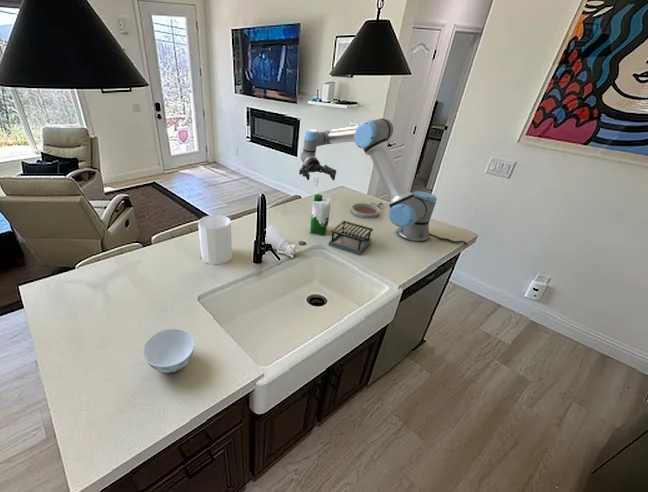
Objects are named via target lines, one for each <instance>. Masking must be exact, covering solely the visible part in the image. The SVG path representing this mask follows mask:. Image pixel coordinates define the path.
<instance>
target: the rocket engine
mask: <svg viewBox="0 0 648 492" xmlns="http://www.w3.org/2000/svg"><path fill="white" fill-rule="evenodd" d="M265 230H266V237H265V242H266V243H268V244H271V245H272V248H273V249H272V250H276V252H277V253H278V254H283V255H286V256H288V257H289V258H291V259H294V258H295V255H296V253H299V252H300V251H301V250H300V249H299V248H297V245H296V244H295V243H293V244H290V243H288V240H287V239H286V238H285V236H284V234H282V233H281V231H280V229H278V228H277V227H276V226H275V224H272V225H271V224H270V225H269V226H267V227H266V228H265ZM295 251H296V252H295Z"/></svg>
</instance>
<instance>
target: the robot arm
mask: <svg viewBox="0 0 648 492" xmlns="http://www.w3.org/2000/svg"><path fill="white" fill-rule="evenodd" d="M393 134H394V125H393V123H392V122H391V121H390V120H389V119H387V118H377V119H372V120H371V119H370V120H366V121H363V122H361V123H360V124H358V125H357V126H350V127H343V128H337V129H328V130H323V131H318V130H317V129H312V128H311V129H307V130H305V133H304V139H303V148H302V151H301V153H300V159H301V162H302V163H303V164H302V166H301V167H300V168H299V170H298V171H299V172H298V175H299V176H301V175H302V176H301V177H305V179H306V180H307V181H310V176H311V175H310V173H320V174H321V173H323V174H326V175H328V176H329V178H330V179H331V180H332V181H335V180H336V175H337V170H336V169H334V168H332V167H330V166H328V165H327V164H324V165H321V162H320V160H319V159H318V158H317V157H316V154H317V147H322V146H326V145H333V144H342V143H352V142H354V143H355V146H357V148H360V149H362V150H363V152H364V154H365V155H366V156H369V157H370V159H371V161H372V163H373V166H374V167H375V170H376V172H377V174H378V177H379V178H380V181H381V183H382V185H383V188H384V189H385V192H386V194H387V196H388V198H389V202H388V207H389V209H390V210H389V212H388V217H389V220H390V222H391V223H392V224H393V225H394V226H397V227H398V229H397V235H398V236H399V237H401V238H402V239H404V240H406V241H411V242H418V243H419V242H424V241H427V240H428V239H429V236H430V237H432V238H436V239H438V240H441V241H448V242H449V243H453V244H459V243H463V244H465V245H466V246H467V245H468V242H467V241H465V240H452V239H450V238H445V237H440V236H437V235H435V234H432V233H430V230H429V229H430V226H429V224H430V221H431V218H432V215H433V212H434V209H435V207H436V204H437V196H436V195H435V194H433V193H430V192H426V191H419V190H417V191H415V190H414V191H413V192H411V191H408V188H407V186H406V184H405V182H404V180H403V178H402V175H401V173H400V171H399V169H398V166H397V164H396V162H395V160H394V158H393V156H392V154H391V151H390V149H389V147H388V146H389V144H390V139H391V138H392V137H393Z"/></svg>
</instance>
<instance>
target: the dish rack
mask: <svg viewBox="0 0 648 492" xmlns="http://www.w3.org/2000/svg"><path fill="white" fill-rule="evenodd" d="M367 231H368V232H367ZM373 231H374V228H371V227H367V226H366V225H365V226H364V225H361V224H357V223H354V222H350V221H347V220H342V221H341V222H340V223H338V225H336V226H335V227H334V228H332V229H331V230H330V233H331V239H330V240H329V242H328V245H329V246H331V247H333V248H337V249H340V250H343V251H345V252H349V253H352V254H356V255H361V254H362V252H363V251H364V250H365V249H366V248H367V247H368V246H369V245H370V244H371V241H372V238H371V234H372V232H373ZM364 234H365V235H364ZM363 235H364V236H363Z"/></svg>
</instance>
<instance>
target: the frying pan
mask: <svg viewBox="0 0 648 492" xmlns="http://www.w3.org/2000/svg"><path fill="white" fill-rule="evenodd" d="M380 208H383V201H380V202H379V203H376V202H370V203H363V202H359V203H355V204H353V205H352V206H351V207H350V210H351V213H352V214H353V215H354V216H356V217H360V218H365V219H372V218H373V219H374V218H376V217H378V216H379V214H380V213H381V210H380Z"/></svg>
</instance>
